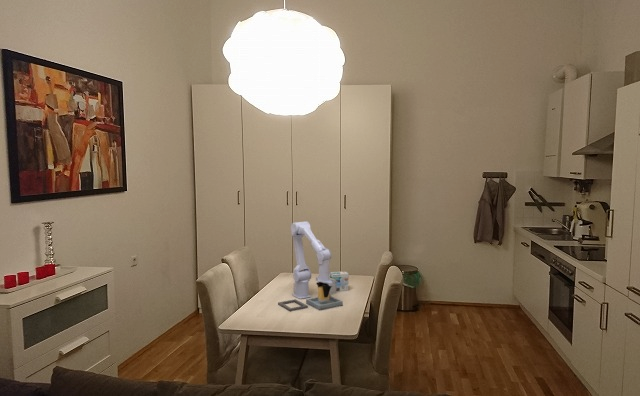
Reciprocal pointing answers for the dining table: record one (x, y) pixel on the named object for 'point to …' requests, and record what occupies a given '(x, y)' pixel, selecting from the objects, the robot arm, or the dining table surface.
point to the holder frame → (302, 306)
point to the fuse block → (322, 295)
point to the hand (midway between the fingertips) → (324, 295)
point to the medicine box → (333, 287)
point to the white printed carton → (340, 280)
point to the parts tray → (324, 303)
